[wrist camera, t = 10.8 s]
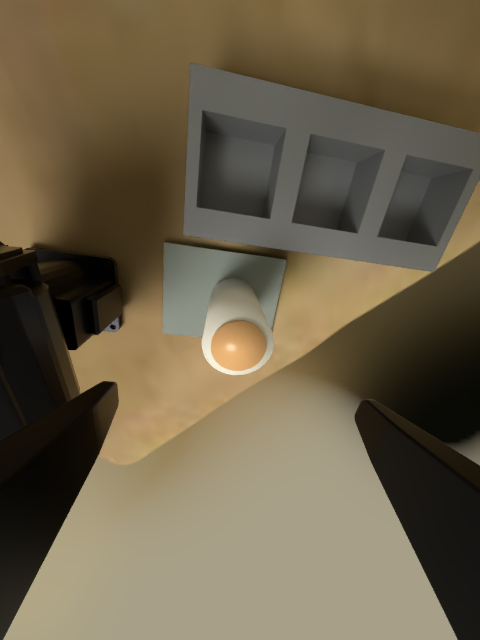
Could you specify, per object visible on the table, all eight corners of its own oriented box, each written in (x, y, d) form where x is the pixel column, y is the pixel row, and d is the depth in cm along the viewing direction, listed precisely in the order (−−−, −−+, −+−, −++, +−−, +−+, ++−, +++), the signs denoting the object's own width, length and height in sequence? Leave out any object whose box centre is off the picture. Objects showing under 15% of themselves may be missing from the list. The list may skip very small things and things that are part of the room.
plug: (208, 318, 20) (198, 375, 13) (212, 274, 19) (204, 309, 11) (251, 323, 21) (267, 380, 13) (259, 280, 19) (282, 317, 11)
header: (191, 232, 18) (183, 235, 14) (198, 102, 15) (190, 62, 11) (395, 263, 20) (434, 272, 16) (438, 156, 17) (499, 137, 13)
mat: (163, 331, 21) (162, 333, 20) (165, 242, 18) (163, 242, 17) (267, 340, 22) (268, 343, 22) (285, 259, 19) (286, 260, 19)
